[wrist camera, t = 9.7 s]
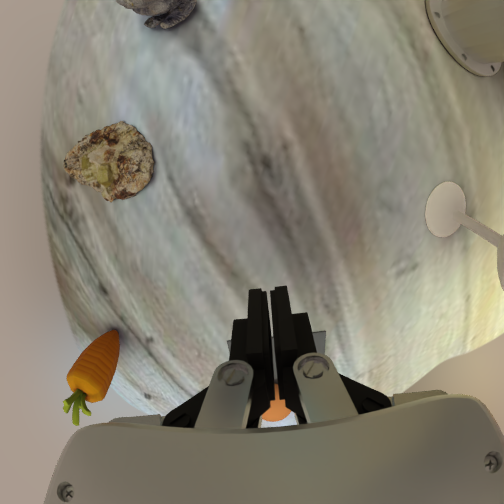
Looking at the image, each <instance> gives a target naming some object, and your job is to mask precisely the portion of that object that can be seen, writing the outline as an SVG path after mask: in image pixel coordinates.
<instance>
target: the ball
mask: <svg viewBox="0 0 504 504" xmlns="http://www.w3.org/2000/svg"><path fill="white" fill-rule="evenodd" d="M270 404H271V408H269V409H268V410H267V411H266V412H265V413H264V414H262V419H264V420H266V421H272V422H274V421H279V420H282V419H284V418H285V417H287V416H288V415H289V414H290V412H291V410H289V409H288V408H286V407H285V399H284V400H280V399H279V389H278V384H275V400H274V401H270Z"/></svg>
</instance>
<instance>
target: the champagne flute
mask: <svg viewBox="0 0 504 504" xmlns="http://www.w3.org/2000/svg"><path fill="white" fill-rule="evenodd" d="M465 210H466V200H465V196H464V193H463V191H462V189H461V188H460V186H458V185H457V184H456V183H454V182H449V181H448V182H443V183H441V184H439V185H438V186H437V187H436V188H435V189H434V190H433V191H432V193H431V194H430V196H429V198H428V200H427V204H426V209H425V219H426V224H427V227H428V229H429V230H430V232H431V233H432V234H434V235H435V236H437V237H447V236H449V235H451V234H453V233H454V232H455V231H456V230H457V229H458V228H459V226H460V225H461V224H462V225H463V226H465V227H467V228H468V229H470V230H471V231H473V232H475V233H476V234H478V235H479V236H481V237H482V238H484V239H485V240H487V241H488V242H490V243H491V244H493V245H494V246H496V247H497V269H498V275H499V280H500V283H501V286H502V289H503V290H504V235H503V236H501V235H500V234H498V233H497V232H495V231H493V230H492V229H490V228H488V227H487V226H485V225H483V224H482V223H480V222H478V221H476V220H475V219H473V218H471V217H469V216H468V215H466V214H465Z"/></svg>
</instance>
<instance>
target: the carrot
mask: <svg viewBox="0 0 504 504" xmlns="http://www.w3.org/2000/svg"><path fill="white" fill-rule="evenodd" d="M119 347H120V344H119V333H118V332H117V331H116V330H112V331H109V332H107V333H105V334H103V335H102V336H100V337H98V338H97V339H95V340H94V341H93V342H92V343H91V344H90V345H89V346H88V347H87V348H86V349H85V350H84V351H83V352H82V353H81V355H80V356H79V358H78V359H77V360H76V362H75V363H74V365H73V366H72V368H71V369H70V371H69V373H68V374H67V381H68V384H69V386H70V388H71V390H72V391H73V392H74V393H73V394H72V395H71V397H69V398H68V399H66V400H64V401H63V403H64V407H63V409H64V412H66V413H68V412H69V410H70V407H71V405H72V403H73V402H74V405H73V414H72V420H73V424H74V425H76V426H78V425H79V408H80V409H82V412H83V413H84V414H86V415H88V416H91V412H90V411H89V409H88V408H87V406H86V404H85V400H86V401H88V402H91V403H93V402H98V401H101V400H103V399H104V397H105V395H106V393H107V391H108V388H109V386H110V384H111V381H112V379H113V376H114V373H115V370H116V366H117V362H118V357H119Z"/></svg>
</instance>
